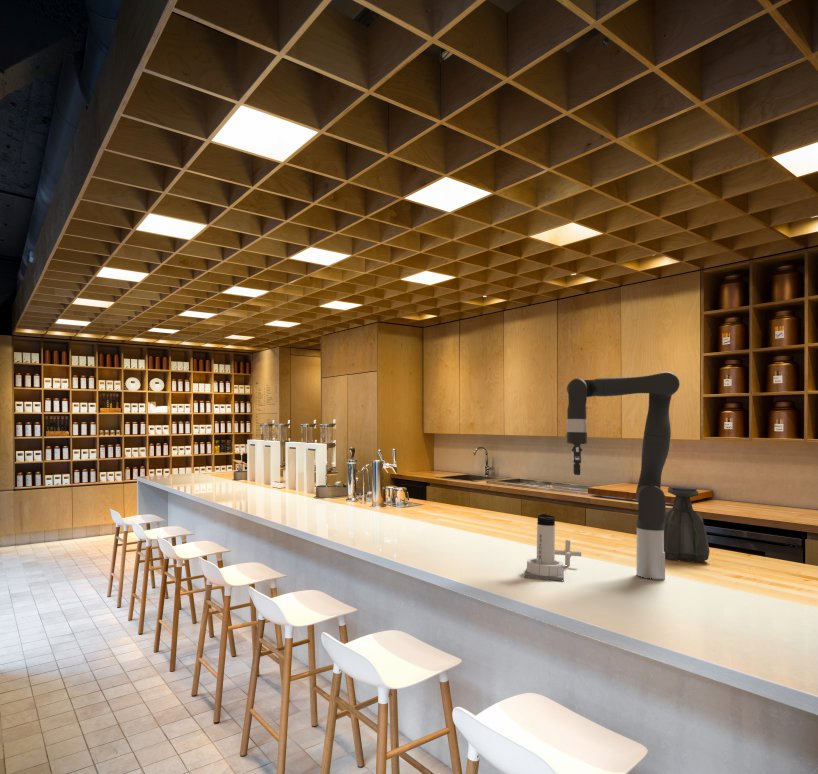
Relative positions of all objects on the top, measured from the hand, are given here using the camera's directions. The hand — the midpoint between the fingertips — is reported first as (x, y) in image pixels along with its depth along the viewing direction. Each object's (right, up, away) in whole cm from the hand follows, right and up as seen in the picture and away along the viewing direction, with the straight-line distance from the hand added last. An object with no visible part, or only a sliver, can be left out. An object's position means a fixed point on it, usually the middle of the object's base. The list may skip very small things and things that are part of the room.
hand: (576, 474), depth 218 cm
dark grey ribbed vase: (+54, -41, +30) cm, 74 cm away
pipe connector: (-2, -36, +5) cm, 37 cm away
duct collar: (-15, -34, -12) cm, 39 cm away
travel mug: (-15, -33, -11) cm, 38 cm away
